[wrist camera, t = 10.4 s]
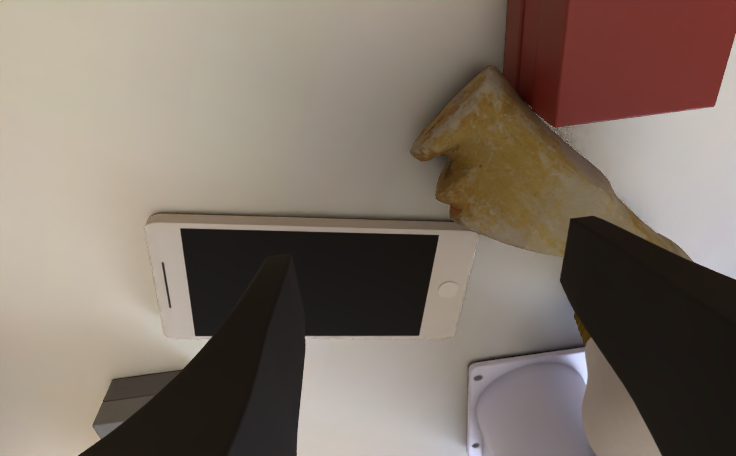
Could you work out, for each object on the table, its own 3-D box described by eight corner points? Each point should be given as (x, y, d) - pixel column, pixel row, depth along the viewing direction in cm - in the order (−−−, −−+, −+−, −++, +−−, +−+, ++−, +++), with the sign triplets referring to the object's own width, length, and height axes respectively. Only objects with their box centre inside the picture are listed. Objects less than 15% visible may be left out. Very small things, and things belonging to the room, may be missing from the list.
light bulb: (662, 296, 27) (779, 489, 20) (567, 337, 30) (641, 520, 23) (623, 249, 24) (747, 460, 17) (520, 300, 26) (589, 500, 19)
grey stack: (242, 459, 32) (235, 504, 30) (165, 470, 32) (152, 516, 29) (203, 366, 27) (191, 411, 25) (112, 379, 27) (91, 426, 24)
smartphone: (450, 328, 27) (454, 340, 26) (169, 328, 25) (164, 341, 24) (476, 221, 23) (482, 232, 23) (148, 211, 22) (142, 222, 21)
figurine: (377, 187, 20) (618, 373, 23) (452, 130, 15) (742, 372, 18) (426, 107, 22) (638, 285, 25) (503, 36, 18) (752, 265, 21)
